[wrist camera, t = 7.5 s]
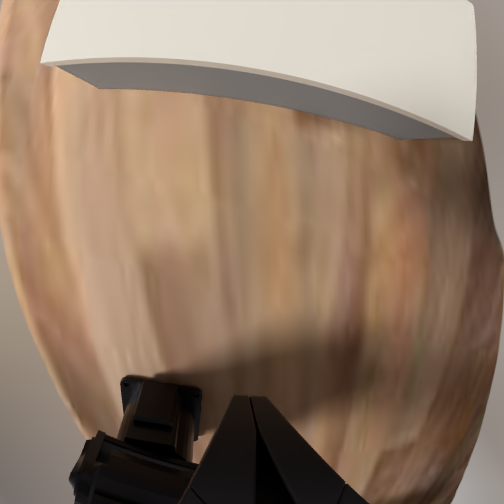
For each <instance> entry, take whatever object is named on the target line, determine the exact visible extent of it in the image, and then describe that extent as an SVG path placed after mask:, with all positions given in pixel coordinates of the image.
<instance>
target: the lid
mask: <svg viewBox="0 0 504 504" xmlns="http://www.w3.org/2000/svg"><path fill="white" fill-rule="evenodd" d="M476 47H477V46H476V29H475V17H474V7H473V4H471V3H470V2H469V1H467V0H60V2H59V5H58V8H57V10H56V13H55V16H54V19H53V22H52V25H51V28H50V31H49V34H48V37H47V40H46V44H45V47H44V51H43V54H42V58H41V62H40V63H41V64H44V65H46V66H48V67H49V66H59V65H70V64H84V63H109V62H141V63H166V64H181V65H193V66H203V67H212V68H220V69H228V70H235V71H241V72H247V73H253V74H259V75H265V76H270V77H275V78H280V79H285V80H289V81H294V82H298V83H302V84H307V85H311V86H315V87H318V88H322V89H326V90H330V91H333V92H337V93H340V94H344V95H347V96H350V97H354V98H357V99H360V100H363V101H366V102H369V103H372V104H375V105H378V106H381V107H384V108H387V109H389V110H392V111H395V112H397V113H400V114H403V115H405V116H408V117H410V118H413V119H415V120H418V121H420V122H423V123H425V124H427V125H430V126H432V127H434V128H437V129H439V130H441V131H443V132H445V133H448V134H450V135H452V136H454V137H456V138H458V139H460V140H462V141H473V132H474V122H475V109H476V89H477V48H476Z"/></svg>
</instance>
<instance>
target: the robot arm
mask: <svg viewBox="0 0 504 504" xmlns="http://www.w3.org/2000/svg"><path fill="white" fill-rule="evenodd" d="M125 382H126V383H128V384H126V383H125ZM120 386H121V395H122V404H123V412H124V417H123V420H122V423H121V426H120V430H119V433H118V436H117V438H114V437H111V436H109V435H106V433H105V432H102V431H100V430H98V432H97V435H96V437H92V439H91V440H86V442H85V445H84V448H83V450H82V453H81V455H80V458H79V459H78V461H77V463H76V464H75V466H74V468H73V470H72V472H71V473H70V477H69V482H70V484H71V485H72V487H73V489H74V496H75V503H74V504H369V503H368V502H367V501H366V500H364V499H363V498H362V497H361V496H360V495H359V494H358V493H357V492H356V491H355V490H354V489H352V488H351V487H350V486H349V485H348V484H345V481H344V480H343V479H342V478H341V477H340V476H339V475H338V474H337V473H336V472H335V471H334V470H333V469H332V468H331V467H330V466H329V465H328V464H327V463H326V462H325V461H324V460H323V459H322V457H321V456H320V455H319V454H318V453H317V452H316V451H315V450H314V449H313V448H312V447H311V446H310V445H309V444H308V443H307V442H306V440H305V439H304V438H303V437H302V436H301V435H300V434H299V433H298V432H297V431H296V430H295V428H294V427H293V426H292V425H291V424H290V423H289V422H288V421H287V420H286V418H285V417H284V416H283V415H282V414H281V413H280V412H279V411H278V409H277V408H276V407H275V406H274V405H273V404H272V402H271V401H270V400H269V399H268V398H267V397H266V396H263V395H251V396H248V395H245V394H233V395H232V397H231V399H230V401H229V403H228V405H227V407H226V410H225V412H224V414H223V416H222V418H221V420H220V422H219V424H218V426H217V428H216V430H215V433H214V435H213V437H212V439H211V441H210V443H209V445H208V447H207V449H206V451H205V453H204V455H203V457H202V459H201V461H200V463H199V464H196V463H192V458H193V441H197V440H198V432H199V422H200V411H201V401H202V391H201V390H200V389H199V388H194V387H186V386H178V385H171V384H164V383H158V382H152V381H146V380H140V379H135V378H129V377H123V378H122V380H121V383H120ZM194 393H196V394H197V395H195V394H194Z"/></svg>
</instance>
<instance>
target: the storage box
mask: <svg viewBox="0 0 504 504" xmlns="http://www.w3.org/2000/svg"><path fill="white" fill-rule="evenodd" d="M57 67H59V68H61V69H63V70H65V71H67V72H69V73H70V74H72V75H74V76H76V77H78V78H80V79H82V80H84V81H86V82H88V83H89V84H91V85H93V86H95V87H97V88H99V89H137V90H157V91H171V92H183V93H193V94H202V95H210V96H218V97H226V98H232V99H239V100H245V101H251V102H257V103H263V104H268V105H273V106H278V107H283V108H288V109H293V110H297V111H302V112H306V113H310V114H315V115H319V116H323V117H327V118H331V119H334V120H338V121H342V122H345V123H349V124H352V125H356V126H359V127H363V128H366V129H369V130H372V131H376V132H379V133H382V134H385V135H388V136H391V137H394V138H397V139H400V140H406V139H427V138H456V137H454V136H452V135H450V134H448V133H445V132H443V131H441V130H439V129H437V128H434V127H432V126H430V125H427V124H425V123H423V122H420V121H418V120H415V119H413V118H410V117H408V116H405V115H403V114H400V113H397V112H395V111H392V110H389V109H387V108H384V107H381V106H378V105H375V104H372V103H369V102H366V101H363V100H360V99H357V98H354V97H350V96H347V95H344V94H340V93H337V92H333V91H330V90H326V89H322V88H318V87H315V86H311V85H307V84H302V83H298V82H294V81H289V80H285V79H280V78H275V77H270V76H265V75H259V74H253V73H247V72H241V71H235V70H228V69H220V68H212V67H203V66H193V65H181V64H166V63H141V62H109V63H84V64H70V65H59V66H57Z"/></svg>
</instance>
